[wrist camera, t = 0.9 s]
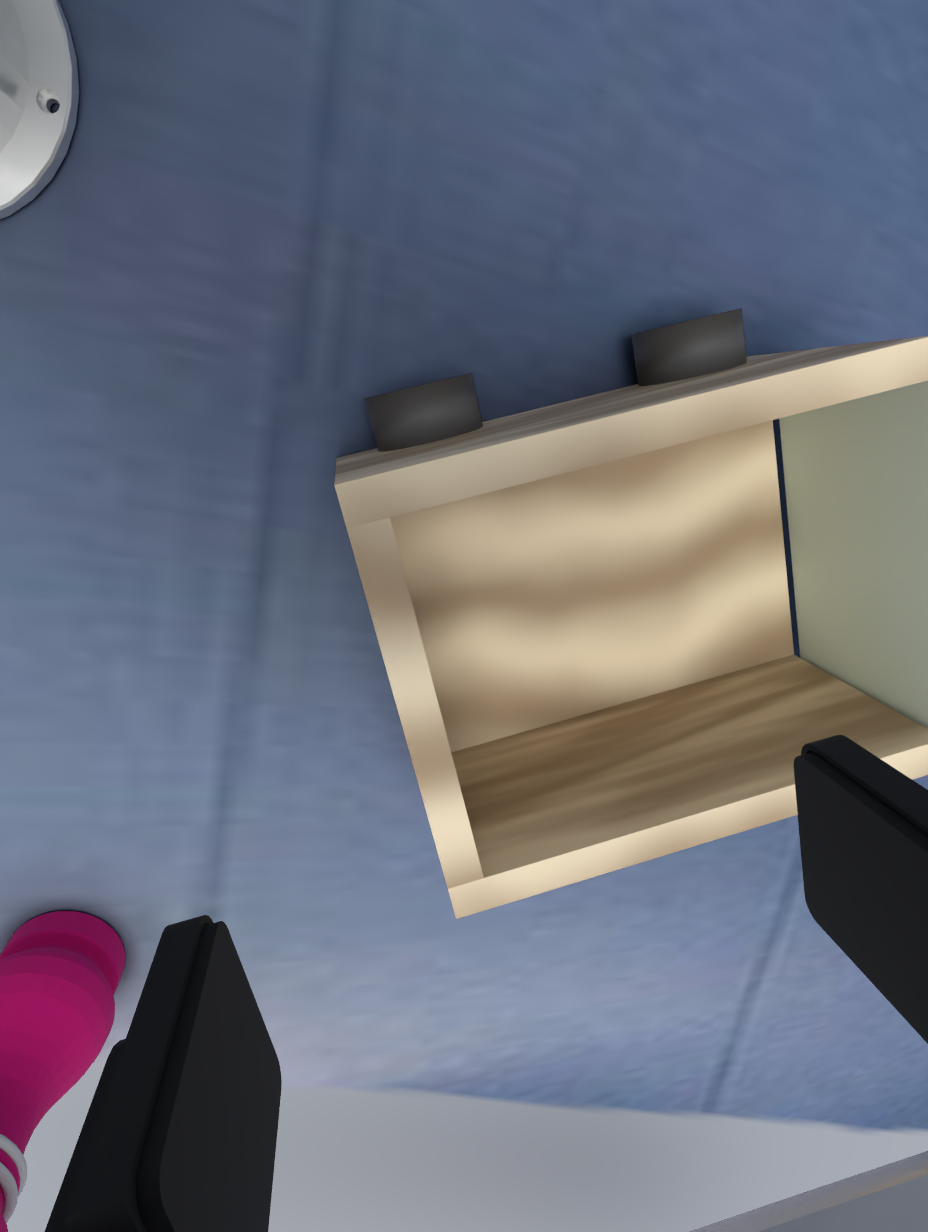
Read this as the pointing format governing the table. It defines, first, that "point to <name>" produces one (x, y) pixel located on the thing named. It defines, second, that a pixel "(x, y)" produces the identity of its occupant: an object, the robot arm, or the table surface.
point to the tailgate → (863, 542)
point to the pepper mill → (49, 1025)
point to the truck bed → (604, 608)
